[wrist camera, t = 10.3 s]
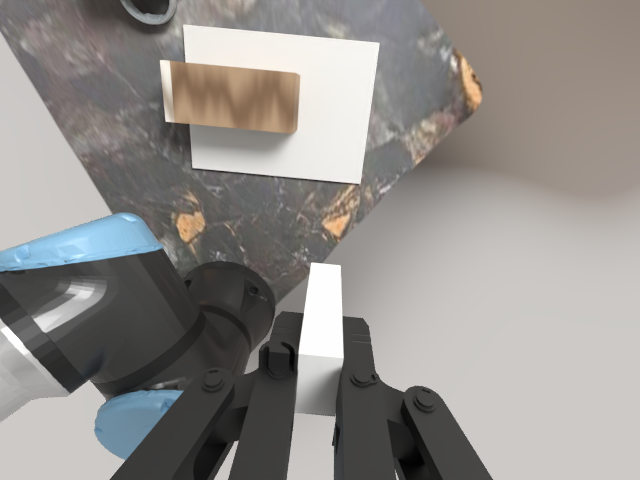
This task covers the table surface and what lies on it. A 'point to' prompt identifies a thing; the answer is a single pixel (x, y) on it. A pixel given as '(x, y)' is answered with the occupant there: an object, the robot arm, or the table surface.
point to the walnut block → (230, 96)
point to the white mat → (314, 104)
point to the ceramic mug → (149, 17)
